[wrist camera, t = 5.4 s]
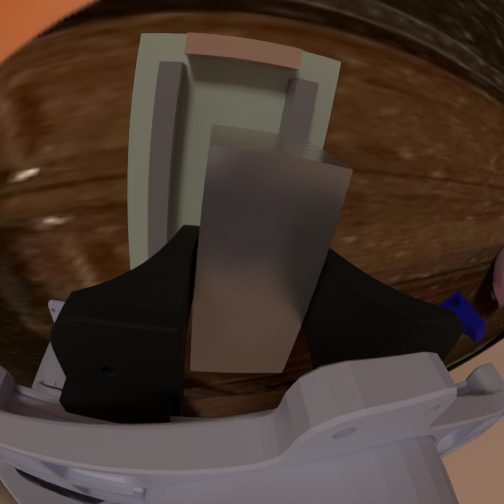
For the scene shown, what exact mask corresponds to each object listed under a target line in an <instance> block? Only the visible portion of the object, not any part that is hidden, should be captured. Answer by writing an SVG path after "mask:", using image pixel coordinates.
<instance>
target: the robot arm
mask: <svg viewBox="0 0 504 504" xmlns="http://www.w3.org/2000/svg"><path fill="white" fill-rule="evenodd" d="M199 228H200V226H196V225H185V224H184V225H183V226H182V227H181V228H180V229H179V231H178V232H177V233H176V234H175V235H174V236H173V237H172V238H171V239H170V240H169V241H168V242H167V243H166V245H165V246H163V247H162V248H161V249H160V250H159V251H158V252H157V253H155V254H154V255H153V256H152V257H151V258H149V259H148V260H147V261H145V262H144V263H142V264H141V265H139V266H137V267H136V268H134V269H132V270H130V271H128V272H126V273H124V274H123V275H121V276H118V277H116V278H114V279H111V280H109V281H106V282H104V283H101V284H98V285H95V286H92V287H88V288H85V289H81V290H77V291H73V292H72V293H71V294H70V296H69V297H68V299H67V300H66V302H62V301H56V300H50V301H49V303H48V306H49V309H50V312H51V315H52V318H53V321H54V325H53V327H52V329H51V333H50V343H49V345H48V348H47V350H46V352H45V355H44V357H43V360H42V362H41V365H40V367H39V370H38V372H37V375H36V378H35V380H34V383H33V386H32V387H31V389H30V388H27V387H24V386H21V385H18V384H15V382H14V380H13V378H12V377H11V375H10V374H9V372H8V371H7V370H6V369H4V368H3V367H2V366H0V480H1V481H2V482H3V484H4V485H5V486H6V488H7V489H8V490H9V492H10V493H11V494H12V496H13V497H14V498H15V499H16V501H17V502H18V503H19V504H117V503H118V504H459V503H458V500H457V498H456V495H455V492H454V489H453V487H452V484H451V482H450V479H449V477H448V474H447V471H446V469H445V467H444V464H443V462H442V459H441V458H442V457H444V456H446V455H448V454H449V453H451V452H453V451H455V450H456V449H458V448H460V447H462V446H463V445H465V444H467V443H469V442H470V441H472V440H474V439H475V438H477V437H479V436H480V435H481V434H482V433H484V432H485V431H486V430H487V429H489V428H490V427H491V426H492V425H493V424H494V423H496V422H497V421H498V420H499V419H500V418H501V417H502V416H503V415H504V381H503V379H502V378H501V376H500V375H499V373H498V371H497V370H496V368H495V367H494V365H493V364H492V363H488V364H485V365H482V366H480V367H478V368H476V369H475V370H474V371H473V372H472V373H471V374H470V375H469V376H468V378H467V379H466V381H463V382H460V383H457V384H455V383H454V381H453V379H452V377H451V376H450V374H449V372H448V371H447V369H446V367H445V366H444V364H443V362H442V361H443V360H444V359H445V358H446V356H447V355H448V354H449V352H450V351H451V350H452V348H453V347H454V346H455V344H456V343H457V341H458V339H459V338H460V335H461V333H462V327H463V324H462V321H461V319H460V318H459V317H458V316H457V314H456V313H455V312H454V311H453V310H452V309H449V308H445V307H442V306H438V305H435V304H431V303H428V302H425V301H422V300H419V299H417V298H414V297H411V296H409V295H406V294H404V293H402V292H400V291H398V290H395V289H393V288H391V287H389V286H387V285H385V284H383V283H382V282H380V281H378V280H376V279H375V278H373V277H371V276H369V275H368V274H366V273H365V272H363V271H362V270H360V269H359V268H357V267H355V266H354V265H353V264H351V263H350V262H348V261H347V260H345V259H344V258H343V257H341V256H340V255H339V254H337V253H336V252H335V251H333V250H332V249H330V248H329V250H328V253H327V256H326V259H325V262H324V265H323V267H322V270H321V273H320V276H319V279H318V282H317V285H316V287H315V290H314V293H313V296H312V298H311V301H310V304H309V306H308V309H307V312H306V314H305V317H304V320H303V322H302V328H303V331H304V333H305V336H306V340H307V343H308V347H309V352H310V357H311V362H312V368H313V371H311V372H309V373H307V374H305V375H303V376H301V377H300V378H299V379H298V380H297V381H296V382H295V383H294V384H293V385H292V386H291V387H290V388H289V389H288V391H287V392H286V393H285V395H284V397H283V399H282V401H281V403H280V405H279V406H278V408H277V409H272V410H266V411H261V412H255V413H249V414H243V415H237V416H230V417H222V418H192V417H183V395H184V365H185V344H186V334H187V328H188V322H189V317H190V311H191V305H192V300H193V295H194V288H195V274H196V262H197V250H198V239H199Z"/></svg>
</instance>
